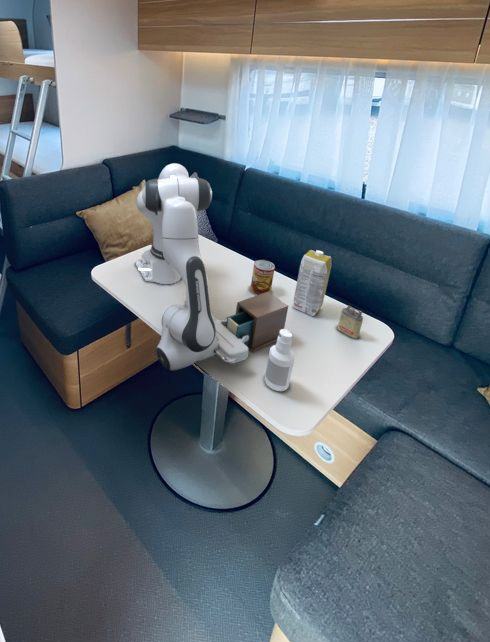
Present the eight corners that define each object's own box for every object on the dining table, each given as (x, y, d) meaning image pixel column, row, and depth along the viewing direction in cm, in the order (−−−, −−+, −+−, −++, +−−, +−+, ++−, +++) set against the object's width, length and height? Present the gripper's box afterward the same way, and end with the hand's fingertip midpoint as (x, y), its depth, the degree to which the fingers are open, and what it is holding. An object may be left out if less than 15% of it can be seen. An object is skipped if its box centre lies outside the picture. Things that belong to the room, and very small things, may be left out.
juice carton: (322, 309, 155) (335, 253, 146) (314, 319, 149) (327, 261, 141) (298, 299, 161) (309, 245, 152) (290, 308, 155) (301, 252, 147)
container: (223, 339, 136) (226, 317, 133) (255, 327, 142) (258, 305, 139) (235, 350, 132) (238, 327, 128) (267, 337, 138) (270, 314, 135)
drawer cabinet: (232, 333, 141) (236, 301, 136) (261, 321, 147) (267, 290, 143) (252, 351, 133) (258, 318, 128) (283, 338, 139) (289, 306, 134)
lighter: (335, 329, 144) (341, 305, 141) (340, 325, 147) (346, 301, 143) (355, 340, 139) (361, 315, 136) (360, 335, 141) (367, 311, 138)
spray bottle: (261, 374, 124) (269, 325, 117) (282, 373, 124) (292, 324, 118) (269, 392, 117) (279, 341, 111) (292, 391, 118) (303, 340, 111)
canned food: (249, 293, 164) (253, 267, 160) (251, 283, 171) (255, 258, 166) (269, 298, 161) (274, 271, 157) (271, 287, 168) (275, 262, 164)
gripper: (228, 355, 118) (263, 341, 124) (187, 316, 134) (219, 304, 141) (225, 373, 120) (260, 357, 126) (185, 331, 137) (218, 319, 143)
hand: (238, 329), depth 134 cm, fingers open, 6 cm apart
